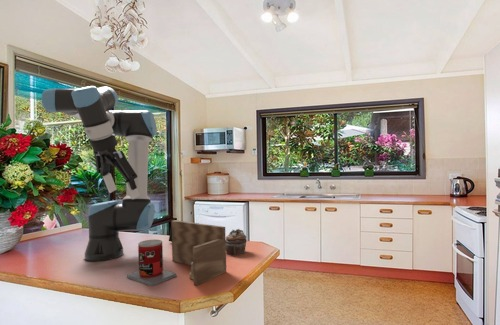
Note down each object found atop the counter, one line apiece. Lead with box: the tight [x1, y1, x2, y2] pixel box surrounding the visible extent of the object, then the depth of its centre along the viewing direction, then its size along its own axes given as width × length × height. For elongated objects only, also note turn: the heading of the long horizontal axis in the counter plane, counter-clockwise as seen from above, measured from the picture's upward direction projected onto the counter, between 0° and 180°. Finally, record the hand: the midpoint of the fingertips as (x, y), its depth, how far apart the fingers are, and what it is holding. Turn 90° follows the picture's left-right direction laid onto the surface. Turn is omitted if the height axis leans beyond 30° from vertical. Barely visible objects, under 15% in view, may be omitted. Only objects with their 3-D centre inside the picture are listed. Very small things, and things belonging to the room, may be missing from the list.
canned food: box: [137, 239, 164, 278], centre depth 107 cm, size 8×8×11 cm
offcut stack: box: [189, 262, 193, 280], centre depth 107 cm, size 4×9×5 cm, turn 144°
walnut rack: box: [170, 219, 227, 286], centre depth 112 cm, size 27×14×16 cm, turn 54°
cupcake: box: [225, 228, 247, 256], centre depth 134 cm, size 10×10×10 cm
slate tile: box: [126, 269, 177, 287], centre depth 107 cm, size 14×10×1 cm
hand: (124, 194), depth 107 cm, fingers open, 13 cm apart
